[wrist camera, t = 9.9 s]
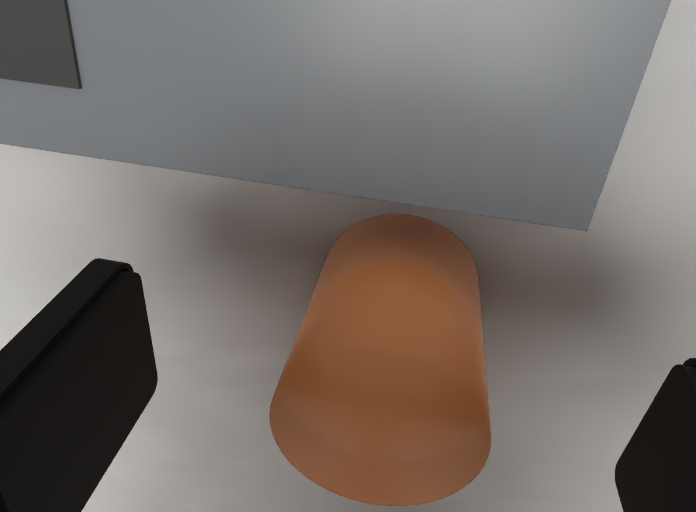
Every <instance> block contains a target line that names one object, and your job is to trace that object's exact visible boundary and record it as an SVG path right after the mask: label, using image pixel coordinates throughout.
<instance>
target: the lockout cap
mask: <svg viewBox="0 0 696 512" xmlns="http://www.w3.org/2000/svg"><path fill="white" fill-rule="evenodd" d="M270 425H271V429H272V433H273V436H274V438H275V441H276V443H277V445H278V447H279V448H280V450H281V452H282V453H283V454H284V456H285V457H286V458H287V459H288V461H289V462H290V463H291V464H292V465H293V466H294V467H295V468H296V469H297V470H298V471H299V472H301V473H302V474H303V475H304V476H306V477H307V478H308V479H310V480H312V481H313V482H315V483H316V484H318V485H320V486H321V487H323V488H325V489H327V490H329V491H331V492H334V493H336V494H338V495H341V496H344V497H347V498H350V499H353V500H357V501H361V502H365V503H371V504H377V505H389V506H406V505H417V504H422V503H428V502H432V501H435V500H439V499H442V498H444V497H447V496H449V495H451V494H453V493H455V492H457V491H459V490H460V489H462V488H463V487H465V486H466V485H467V484H469V483H470V482H471V481H472V480H473V479H474V478H475V477H476V476H477V475H478V474H479V472H480V471H481V469H482V468H483V467H484V465H485V462H486V460H487V458H488V455H489V451H490V445H491V433H490V420H489V407H488V395H487V382H486V369H485V357H484V344H483V331H482V319H481V306H480V293H479V281H478V273H477V268H476V265H475V262H474V260H473V258H472V256H471V254H470V252H469V251H468V249H467V248H466V246H465V245H464V244H463V243H462V242H461V241H460V239H459V238H458V237H456V236H455V235H454V234H453V233H452V232H450V231H449V230H447V229H446V228H444V227H443V226H441V225H439V224H437V223H435V222H433V221H430V220H427V219H425V218H422V217H417V216H412V215H404V214H388V215H381V216H376V217H373V218H369V219H366V220H364V221H362V222H359V223H357V224H356V225H354V226H352V227H351V228H349V229H348V230H347V231H345V232H344V233H343V234H342V235H341V236H340V237H339V238H338V239H337V240H336V242H335V243H334V244H333V246H332V247H331V249H330V251H329V253H328V255H327V258H326V261H325V263H324V266H323V268H322V271H321V274H320V276H319V279H318V281H317V284H316V287H315V289H314V292H313V294H312V297H311V300H310V302H309V305H308V307H307V310H306V313H305V315H304V318H303V320H302V323H301V325H300V328H299V331H298V333H297V336H296V338H295V341H294V344H293V346H292V349H291V351H290V354H289V357H288V359H287V362H286V364H285V367H284V370H283V372H282V375H281V377H280V380H279V383H278V385H277V388H276V390H275V393H274V396H273V399H272V402H271V406H270Z"/></svg>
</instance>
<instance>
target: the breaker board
mask: <svg viewBox="0 0 696 512" xmlns="http://www.w3.org/2000/svg"><path fill="white" fill-rule="evenodd" d="M670 1H671V0H0V144H6V145H13V146H20V147H26V148H33V149H40V150H46V151H53V152H60V153H66V154H73V155H80V156H87V157H93V158H100V159H107V160H113V161H120V162H127V163H133V164H140V165H147V166H154V167H160V168H167V169H174V170H180V171H187V172H194V173H200V174H207V175H214V176H220V177H227V178H234V179H241V180H247V181H254V182H261V183H267V184H274V185H281V186H287V187H294V188H301V189H308V190H314V191H321V192H328V193H334V194H341V195H348V196H354V197H361V198H368V199H375V200H381V201H388V202H395V203H401V204H408V205H415V206H421V207H428V208H435V209H442V210H448V211H455V212H462V213H468V214H475V215H482V216H488V217H495V218H502V219H509V220H515V221H522V222H529V223H535V224H542V225H549V226H555V227H562V228H569V229H576V230H582V231H587V230H588V227H589V224H590V221H591V219H592V216H593V213H594V210H595V208H596V205H597V202H598V199H599V197H600V194H601V191H602V188H603V186H604V183H605V180H606V177H607V175H608V172H609V169H610V166H611V164H612V161H613V158H614V155H615V153H616V150H617V147H618V144H619V142H620V139H621V136H622V133H623V131H624V128H625V125H626V122H627V120H628V117H629V114H630V111H631V109H632V106H633V103H634V100H635V98H636V95H637V92H638V89H639V87H640V84H641V81H642V78H643V76H644V73H645V70H646V67H647V65H648V62H649V59H650V56H651V54H652V51H653V48H654V45H655V43H656V40H657V37H658V34H659V32H660V29H661V26H662V23H663V21H664V18H665V15H666V12H667V10H668V7H669V4H670Z"/></svg>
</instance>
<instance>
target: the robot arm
mask: <svg viewBox="0 0 696 512" xmlns="http://www.w3.org/2000/svg"><path fill="white" fill-rule="evenodd" d="M157 379H158V377H157V370H156V364H155V358H154V352H153V346H152V340H151V334H150V328H149V322H148V316H147V310H146V304H145V298H144V293H143V287H142V281H141V277H140V275H139V274H138V273H135V272H133V268H132V267H131V265H130V264H128V263H124V262H118V261H112V260H106V259H100V258H98V259H94V260H93V261H91V262H90V263H89V264H88V265H87V266H86V267H85V268H84V269H83V270H82V271H81V272H80V273H79V274H78V275H77V276H76V277H75V278H74V279H73V280H72V281H71V282H70V283H69V284H68V285H67V286H66V287H65V288H64V289H63V290H62V291H61V292H60V293H59V294H58V295H56V296H55V297H54V298H53V299H52V300H51V301H50V302H49V303H48V304H47V305H46V306H45V307H44V308H43V309H42V310H41V311H40V312H39V313H38V314H37V315H36V316H35V317H34V318H33V319H32V320H31V321H30V322H29V323H28V324H27V325H26V326H25V327H24V328H23V329H22V330H21V331H20V332H19V333H18V334H17V335H16V336H15V337H14V338H13V339H12V340H11V341H10V342H9V343H8V344H7V345H6V346H5V347H4V348H3V349H1V350H0V512H81V511H82V509H83V508H84V506H85V505H86V503H87V501H88V500H89V498H90V496H91V495H92V493H93V492H94V490H95V488H96V487H97V485H98V483H99V482H100V480H101V479H102V477H103V475H104V474H105V472H106V470H107V469H108V467H109V466H110V464H111V462H112V461H113V459H114V458H115V456H116V454H117V453H118V451H119V449H120V448H121V446H122V445H123V443H124V441H125V440H126V438H127V436H128V435H129V433H130V432H131V430H132V428H133V427H134V425H135V423H136V422H137V420H138V419H139V417H140V415H141V414H142V412H143V410H144V409H145V407H146V406H147V404H148V402H149V401H150V399H151V397H152V396H153V394H154V392H155V389H156V385H157ZM615 482H616V486H617V490H618V494H619V497H620V501H621V504H622V508H623V512H696V358H690V359H688V360H686V361H685V362H684V364H683V365H675V366H674V367H673V368H672V369H671V371H670V372H669V374H668V376H667V378H666V379H665V381H664V383H663V384H662V386H661V388H660V390H659V391H658V393H657V395H656V396H655V398H654V400H653V402H652V403H651V405H650V407H649V408H648V410H647V412H646V414H645V415H644V417H643V419H642V420H641V422H640V424H639V426H638V427H637V429H636V431H635V432H634V434H633V436H632V438H631V439H630V441H629V443H628V444H627V446H626V448H625V450H624V451H623V453H622V455H621V457H620V458H619V460H618V462H617V464H616V469H615Z"/></svg>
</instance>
